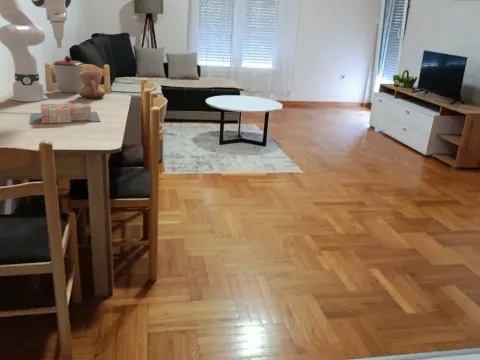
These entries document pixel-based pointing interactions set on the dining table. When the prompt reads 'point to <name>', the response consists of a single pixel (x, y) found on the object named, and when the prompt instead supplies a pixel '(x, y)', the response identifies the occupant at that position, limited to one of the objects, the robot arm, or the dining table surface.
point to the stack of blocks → (65, 112)
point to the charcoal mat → (37, 119)
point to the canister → (68, 75)
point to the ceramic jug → (91, 85)
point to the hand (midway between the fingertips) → (59, 47)
